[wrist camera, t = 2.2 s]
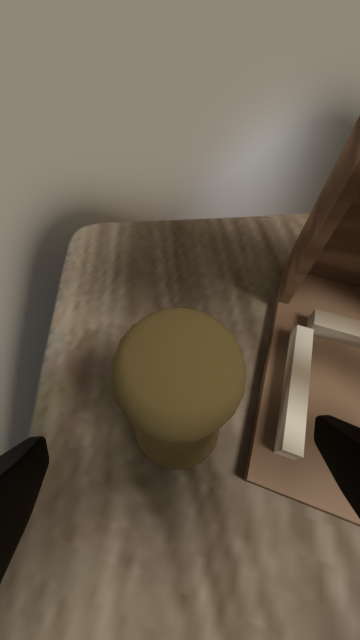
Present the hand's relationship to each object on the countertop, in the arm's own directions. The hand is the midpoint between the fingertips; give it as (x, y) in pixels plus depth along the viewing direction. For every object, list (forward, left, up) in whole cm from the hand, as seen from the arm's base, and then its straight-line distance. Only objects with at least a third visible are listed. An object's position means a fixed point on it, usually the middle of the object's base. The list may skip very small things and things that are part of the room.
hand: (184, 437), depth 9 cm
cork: (+2, +1, -10) cm, 10 cm away
